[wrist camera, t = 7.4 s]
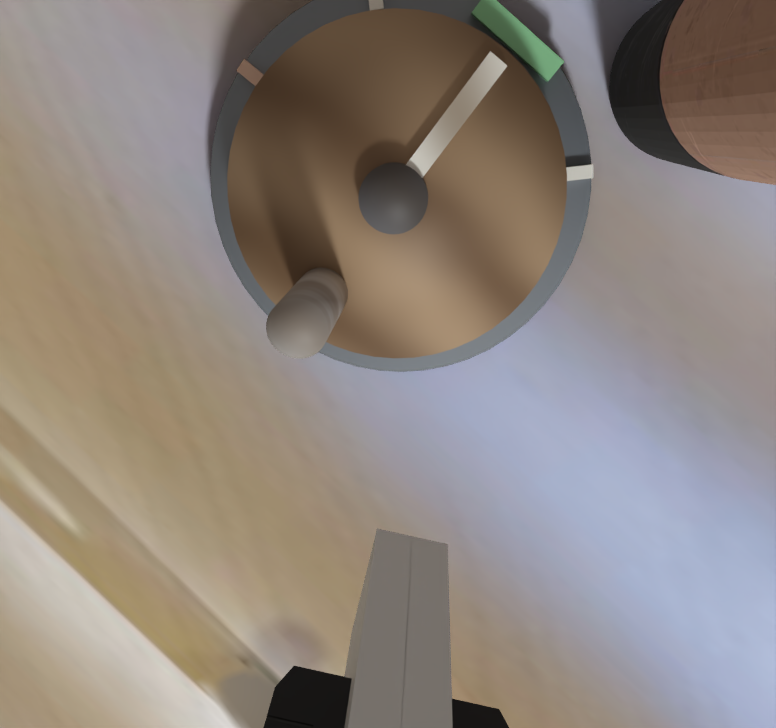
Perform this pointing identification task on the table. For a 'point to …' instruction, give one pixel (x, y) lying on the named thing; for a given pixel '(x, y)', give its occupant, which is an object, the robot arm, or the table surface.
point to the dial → (395, 186)
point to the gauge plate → (483, 12)
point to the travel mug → (701, 86)
